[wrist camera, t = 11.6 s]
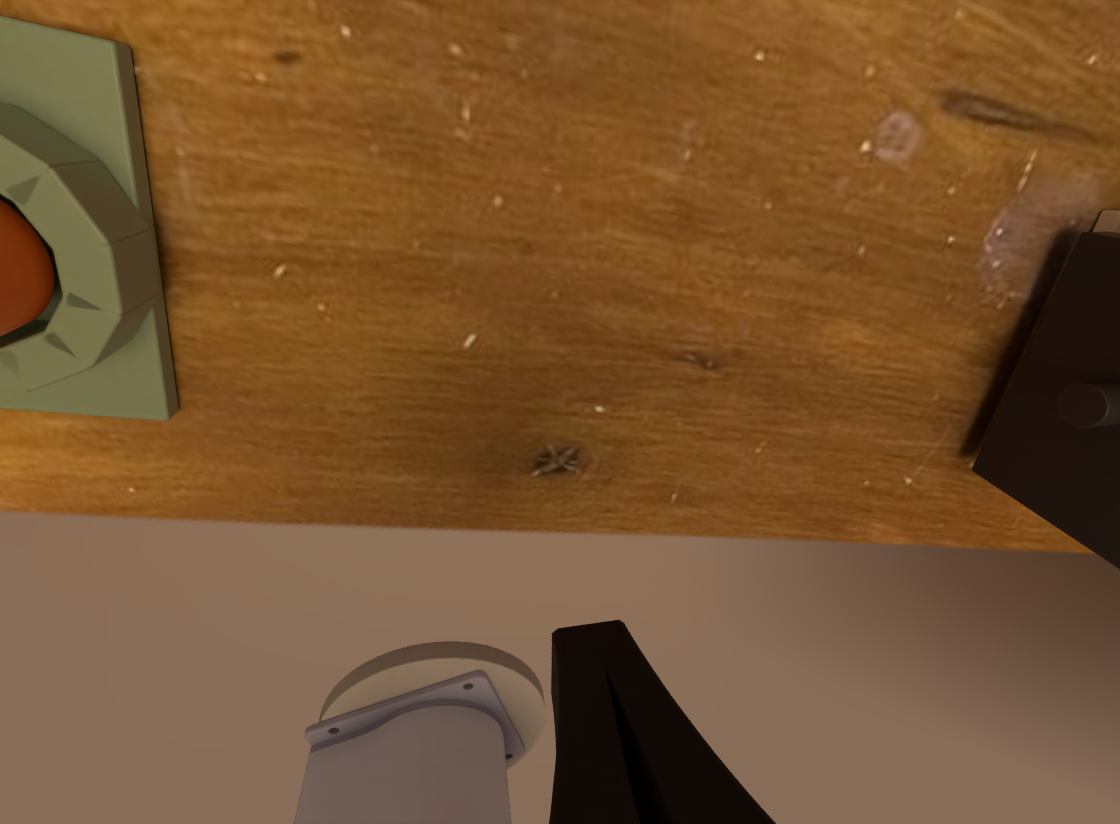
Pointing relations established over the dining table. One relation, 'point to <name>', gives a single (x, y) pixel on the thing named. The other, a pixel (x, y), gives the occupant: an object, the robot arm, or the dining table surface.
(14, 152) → the control block
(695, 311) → the dining table surface
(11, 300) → the button
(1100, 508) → the small knobbed drawer
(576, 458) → the dining table surface
